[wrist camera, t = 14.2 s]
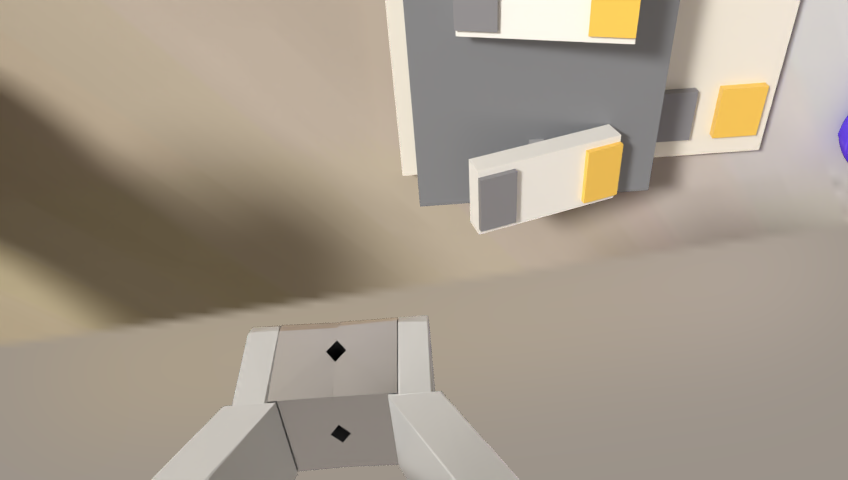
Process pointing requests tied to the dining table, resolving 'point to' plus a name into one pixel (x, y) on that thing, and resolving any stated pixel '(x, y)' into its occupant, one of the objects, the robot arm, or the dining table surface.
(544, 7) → the rocker
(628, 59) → the switch unit
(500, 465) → the robot arm
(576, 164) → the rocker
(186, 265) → the dining table surface
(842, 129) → the bottle
